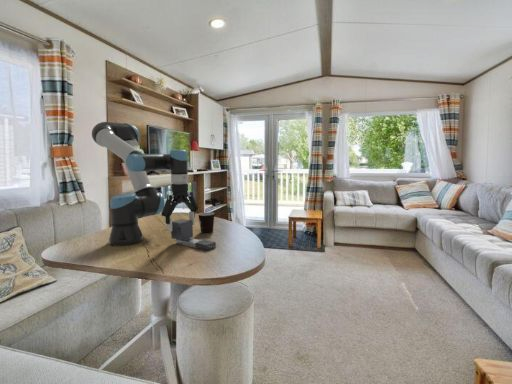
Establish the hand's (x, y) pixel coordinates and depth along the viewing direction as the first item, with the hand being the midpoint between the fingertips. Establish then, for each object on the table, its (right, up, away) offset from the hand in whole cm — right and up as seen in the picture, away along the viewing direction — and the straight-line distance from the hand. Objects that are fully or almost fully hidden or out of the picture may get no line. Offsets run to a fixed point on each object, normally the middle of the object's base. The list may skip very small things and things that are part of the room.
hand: (181, 227), depth 137 cm
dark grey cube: (0, -5, 0) cm, 5 cm away
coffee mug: (+9, -5, +21) cm, 24 cm away
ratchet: (+7, -8, -4) cm, 11 cm away
